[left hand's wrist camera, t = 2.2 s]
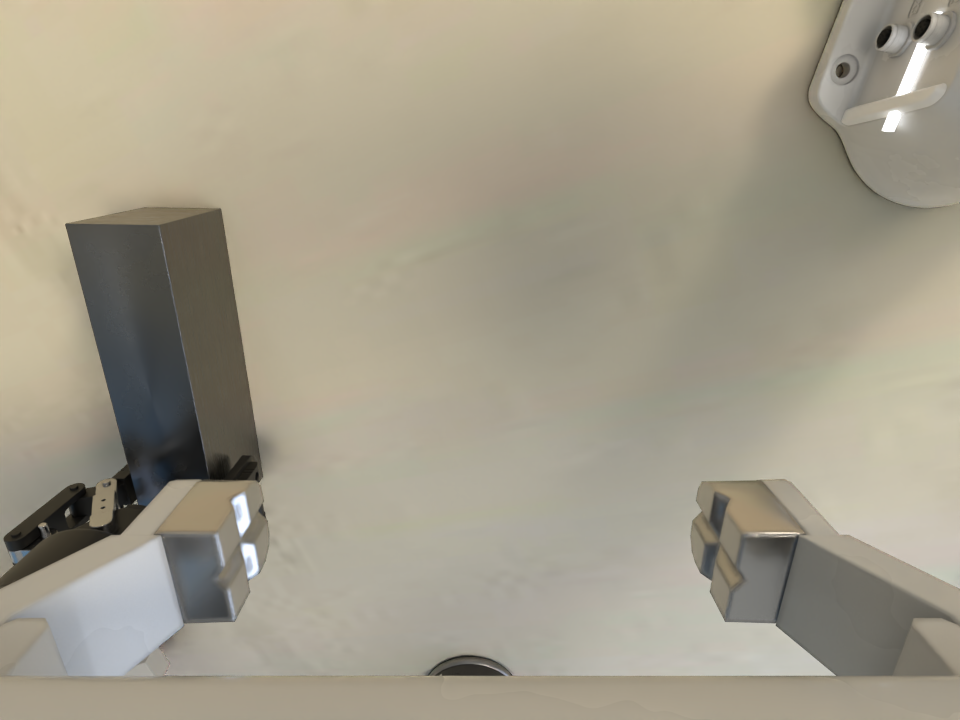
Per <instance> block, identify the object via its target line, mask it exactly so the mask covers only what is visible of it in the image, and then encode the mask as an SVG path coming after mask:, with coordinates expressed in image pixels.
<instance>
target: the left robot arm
mask: <svg viewBox="0 0 960 720" xmlns="http://www.w3.org/2000/svg"><path fill="white" fill-rule="evenodd" d="M839 64H841V65H842V66H843V74H842V75H841V76H840V77H837V75H836V68H837V66H838V65H839ZM808 99H809V102H810V105H811V107H812V108H813V110H814V111H815V112H816V113H817V114H818V115H819V116H820V117H821V118H822V119H823V120H824V121H825V122H827V123H828V124H829V125H830V126H831V127H833V128H834V129H835V130H836V131H837V133H838V134H839V136H840V138H841V140H842V142H843V145H844V148H845V150H846V153H847V155H848V158H849V160H850V162H851V164H852V166H853V168H854V170H855V171H856V173H857V174H858V175H859V177H860V178H861V179H862V180H863V182H864V183H865V184H866V185H867V186H868V187H869V188H871V189H872V190H873V191H874V192H876V193H877V194H879V195H880V196H882V197H884V198H886V199H888V200H890V201H892V202H895V203H898V204H901V205H905V206H910V207H919V208H934V207H943V206H949V205H953V204H957V203H960V0H843V2H842V5H841V7H840V10H839V12H838V15H837V18H836V20H835V23H834V25H833V28H832V30H831V33H830V36H829V38H828V41H827V43H826V46H825V49H824V51H823V54H822V56H821V59H820V61H819V64H818V67H817V69H816V72H815V74H814V77H813V79H812V82H811V85H810V88H809V93H808ZM263 501H264V498H263V493H262V489H261V485H260V484H259V483H258V482H257V481H247V480H200V479H186V480H174V481H170V482H169V483H168V484H167V485H166V486H165V487H164V488H163V489H162V490H161V491H160V492H159V494H158V495H157V496H156V497H155V498H154V499H153V500H152V501H151V502H150V503H149V504H148V505H147V507H146V508H145V509H144V510H143V511H142V512H141V513H140V514H139V515H138V516H137V517H136V519H135V520H134V521H133V522H132V523H131V524H130V525H129V526H128V527H127V528H126V529H125V531H124V532H123V533H122V534H121V535H110V536H108V537H106V538H104V539H102V540H100V541H98V542H96V543H94V544H92V545H90V546H88V547H86V548H84V549H82V550H80V551H77V552H75V553H73V554H71V555H69V556H67V557H65V558H63V559H61V560H59V561H57V562H55V563H53V564H51V565H49V566H47V567H44V568H42V569H40V570H38V571H36V572H34V573H32V574H30V575H28V576H26V577H24V578H22V579H20V580H18V581H16V582H14V583H12V584H9V585H7V586H5V587H3V588H1V589H0V720H960V589H958V588H956V587H954V586H952V585H950V584H948V583H946V582H944V581H942V580H940V579H938V578H936V577H934V576H932V575H930V574H928V573H926V572H924V571H921V570H919V569H917V568H915V567H913V566H911V565H909V564H907V563H905V562H903V561H901V560H899V559H897V558H895V557H893V556H891V555H889V554H887V553H884V552H882V551H880V550H878V549H876V548H874V547H872V546H870V545H868V544H866V543H864V542H862V541H860V540H858V539H856V538H854V537H852V536H850V535H839V534H838V533H837V532H836V531H835V529H834V528H833V527H832V526H831V525H830V524H829V523H828V522H827V521H826V520H825V519H824V517H823V516H822V515H821V514H820V513H819V512H818V511H817V510H816V509H815V508H814V507H813V505H812V504H811V503H810V502H809V501H808V500H807V499H806V498H805V497H804V496H803V495H802V493H801V492H800V491H799V490H798V489H797V488H796V487H795V486H794V485H793V484H792V483H791V482H790V481H787V480H785V479H772V480H754V481H702V482H701V484H700V486H699V488H698V492H697V498H696V501H697V503H698V505H699V507H700V508H701V510H702V512H701V513H700V514H699V515H698V516H697V517H696V518H695V519H694V520H693V521H692V528H691V548H692V554H693V557H694V560H695V563H696V565H697V567H698V569H699V571H700V573H701V574H703V575H704V576H705V577H707V578H708V579H710V580H711V581H712V582H711V588H710V593H711V595H712V597H713V599H714V601H715V603H716V605H717V607H718V609H719V611H720V612H721V614H722V616H723V618H724V620H725V622H752V623H776V626H777V627H778V628H779V629H781V630H782V631H783V632H784V633H785V634H787V635H788V636H789V637H790V638H791V639H793V640H794V641H795V642H796V643H798V644H799V645H800V646H801V647H802V648H804V649H805V650H806V651H807V652H808V653H810V654H811V655H812V656H813V657H814V658H816V659H817V660H818V661H819V662H821V663H822V664H823V665H824V666H825V667H827V668H828V669H829V670H830V671H831V672H833V673H834V674H835V675H836V676H124V675H125V674H126V673H128V672H129V671H130V670H131V669H132V668H134V667H135V666H136V665H137V664H138V663H140V662H141V661H142V660H143V659H144V658H146V657H147V656H148V655H149V654H151V653H152V652H153V651H154V650H155V649H157V648H158V647H159V646H160V645H161V644H163V643H164V642H165V641H166V640H168V639H169V638H170V637H171V636H172V635H174V634H175V633H176V632H177V631H178V630H180V629H181V628H182V627H183V626H184V623H207V622H235V620H236V618H237V616H238V614H239V613H240V611H241V609H242V607H243V605H244V603H245V601H246V599H247V597H248V595H249V593H250V588H249V583H248V581H249V580H250V579H252V578H253V577H255V576H256V575H257V574H259V573H260V571H261V569H262V567H263V565H264V563H265V561H266V557H267V552H268V548H269V527H268V521H267V520H266V519H265V518H264V517H263V516H262V515H261V514H260V513H259V512H258V510H259V508H260V507H261V505H262V503H263Z"/></svg>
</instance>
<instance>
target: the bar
mask: <svg viewBox="0 0 960 720" xmlns="http://www.w3.org/2000/svg"><path fill="white" fill-rule="evenodd" d="M65 225H66V229H67V233H68V237H69V240H70V244H71V248H72V252H73V256H74V260H75V263H76V267H77V271H78V275H79V279H80V283H81V286H82V290H83V294H84V298H85V302H86V306H87V309H88V313H89V317H90V321H91V325H92V329H93V332H94V336H95V340H96V344H97V348H98V352H99V355H100V359H101V363H102V367H103V371H104V375H105V378H106V382H107V386H108V390H109V394H110V398H111V401H112V405H113V409H114V413H115V417H116V421H117V424H118V428H119V432H120V436H121V440H122V444H123V447H124V451H125V455H126V459H127V463H128V467H129V470H130V474H131V478H132V482H133V486H134V490H135V493H136V497H137V501H138V505H144V506H147V505H148V504H149V503H150V502H151V501H152V500H153V499H154V498H155V497H156V496H157V495H158V494H159V492H160V491H161V490H162V489H163V488H164V487H165V486H166V485H167V484H168V483H169V482H170V481H174V480H186V479H200V480H223V479H224V478H225V477H226V475H227V474H228V473H229V472H230V470H231V469H232V468H233V466H234V465H235V464H236V463H237V461H238V460H239V459H240V457H241V456H242V455H253V457H254V462H257V463H258V469H259V476H260V480H261V479H262V478H263V474H262V467H261V461H260V454H259V448H258V442H257V435H256V429H255V423H254V416H253V410H252V404H251V397H250V391H249V384H248V378H247V372H246V365H245V359H244V353H243V346H242V340H241V334H240V327H239V321H238V314H237V308H236V302H235V295H234V289H233V283H232V276H231V270H230V263H229V257H228V251H227V244H226V238H225V232H224V225H223V219H222V213H221V209H215V208H147V207H145V208H140V209H135V210H130V211H125V212H120V213H115V214H110V215H106V216H101V217H96V218H91V219H86V220H81V221H76V222H71V223H66V224H65Z"/></svg>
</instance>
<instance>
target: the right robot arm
mask: <svg viewBox="0 0 960 720" xmlns="http://www.w3.org/2000/svg"><path fill="white" fill-rule="evenodd" d="M223 480H247V481H257V482H258V483H259V482H260V476H259V469H258V463H257V462H254V457H253V455H242V456H241V457H240V459H239V460H238V461H237V463H236V464H235V465H234V466H233V468H232V469H231V470H230V472H229V473H228V474H227V475H226V477H225V478H224V479H223ZM136 499H137V497H136V493H135V490H134V486H133V482H132V478H131V474H130V470H129V467H128V464H127V465H126V466H125V467H124V468H122V469H121V471H119V472H118V473H117V474H116V475H115V476H114V477H113V478H109V479H105V480H102V481H100V482H99V483H97V485H96V487H92V488H85V485H84V484H83V483H77V484H73V485H70V486H68V487H66V488H65V489H64V490H62V491H61V492H60V493H59V494H57V495H56V496H55V497H54V498H52V499H51V500H50V501H48V502H47V503H46V504H45V505H43V506H42V507H41V508H40V509H38V510H37V511H36V512H35V513H33V514H32V515H31V516H29V517H28V518H27V519H26V520H24V521H23V522H22V523H21V524H19V525H18V526H17V527H16V528H14V529H13V530H12V531H10V532H9V533H8V534H7V535H6V536H5V537H4V542H5V544H6V547H7V549H8V552H9V555H10V557H11V560H12V563H13V565H14V566H13V567H12V568H11V569H10V570H9V571H8V572H7V573H5V574H4V575H3V576H2V577H1V578H0V589H1V588H3V587H5V586H7V585H9V584H12V583H14V582H16V581H18V580H20V579H22V578H24V577H26V576H28V575H30V574H32V573H34V572H36V571H38V570H40V569H42V568H44V567H47V566H49V565H51V564H53V563H55V562H57V561H59V560H61V559H63V558H65V557H67V556H69V555H71V554H73V553H75V552H77V551H80V550H82V549H84V548H86V547H88V546H90V545H92V544H94V543H96V542H98V541H100V540H102V539H104V538H106V537H108V536H110V535H121V534H122V533H123V532H124V531H125V529H126V528H127V527H128V526H129V525H130V524H131V523H132V522H133V521H134V520H135V519H136V517H137V516H138V515H139V514H140V513H141V512H142V511H143V510H144V509H145V508H146V507H147V506H144V505H133V503H134V502H135V501H136ZM124 505H128V506H127V507H126V508H124ZM67 508H69V510H70V515H69V516H68V517H66V518H65V511H66V509H67ZM258 512H259V513H260V514H261V515H262V516H263V517H264V518H265V519H266V516H265V512H264V508H263V503H262V505H261V507H260V508H259V510H258ZM89 520H90V521H89ZM87 521H89V522H87ZM86 522H87V523H86ZM429 676H512V675H511V674H510V672H509V671H508V670H507V669H505V668H504V667H503V666H501V665H499V664H498V663H496V662H493V661H491V660H488V659H484V658H478V657H461V658H455V659H452V660H449V661H446V662H444V663H442V664H440V665H439V666H437V667H436V668H435V669H434V670H433V671H432V672H431V673H430V674H429Z"/></svg>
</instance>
